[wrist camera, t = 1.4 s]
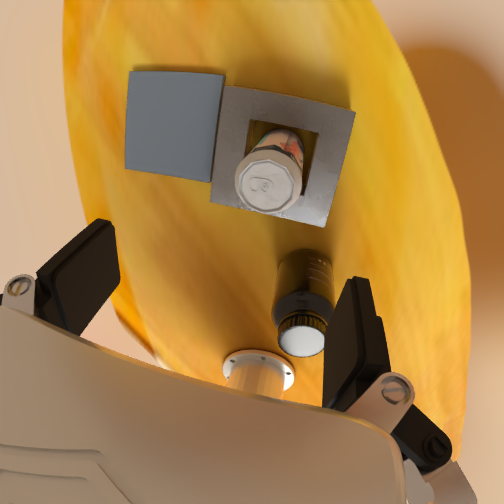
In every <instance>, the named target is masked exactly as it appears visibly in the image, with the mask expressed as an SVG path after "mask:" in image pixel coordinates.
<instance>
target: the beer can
mask: <svg viewBox="0 0 504 504" xmlns="http://www.w3.org/2000/svg"><path fill="white" fill-rule="evenodd" d="M303 156H304V146H303V143H302V141H301V140H300V138H299V137H298V136H297V135H296V134H295V133H293V132H292V131H289V130H287V129H274V130H271V131H269V132H267V133H266V134H265V135H264V136H263V137H262V138H261V140H260V141H259V142H258V144H257V145H256V146H255V147H254V148H253V150H252V151H251V152H250V153H249V154H248V156H246V157H245V158H244V159H243V160H242V161H241V162H240V164H239V166H238V167H237V170H236V173H235V188H236V191H237V193H238V195H239V197H240V198H241V200H242V201H243V202H244V203H245V204H246V205H247V206H248V207H250V208H252V209H253V210H255V211H258V212H260V213H263V214H264V213H267V214H274V213H278V212H282V211H284V210H286V209H288V208H289V207H291V206H292V205H293V204H294V203H295V202H296V200H297V199H298V197H299V195H300V192H301V188H302V168H303Z"/></svg>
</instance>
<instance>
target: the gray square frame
mask: <svg viewBox="0 0 504 504" xmlns="http://www.w3.org/2000/svg"><path fill="white" fill-rule="evenodd" d="M355 114H356V112H354V111H352V110H351V109H347V108H344V107H340V106H336V105H332V104H328V103H324V102H320V101H316V100H312V99H307V98H303V97H298V96H294V95H289V94H283V93H278V92H273V91H267V90H261V89H255V88H248V87H241V86H224V93H223V99H222V106H221V114H220V121H219V128H218V136H217V144H216V152H215V160H214V169H213V178H212V187H211V196H210V202H212V203H217V204H222V205H227V206H231V207H236V208H241V209H245V210H250V211H255V210H253V209H252V208H250V207H248V206H247V205H246V204H245V203H244V202H243V201H242V200H241V198H240V197H239V195H238V193H237V191H236V188H235V173H236V170H237V167H238V166H239V164H240V162H241V161H242V160H243V159H244V158H245V157H246V156H248V154H249V153H250V149H251V143H252V137H253V131H254V125H255V120H260V121H265V122H271V123H276V124H281V125H286V126H290V127H295V128H300V129H304V130H308V131H312V132H317V135H316V139H315V143H314V148H313V152H312V156H311V161H310V165H309V169H308V173H307V178H306V182H305V185H304V184H302V188H301V192H300V195H299V197H298V199H297V200H296V202H295V203H294V204H293V205H292V206H291V207H289V208H288V209H286V210H284V211H282V212H278V213H274V214H268V215H273V216H277V217H281V218H286V219H290V220H294V221H299V222H303V223H307V224H311V225H315V226H319V227H324V228H325V224H326V221H327V218H328V214H329V211H330V208H331V204H332V201H333V197H334V194H335V190H336V187H337V183H338V180H339V176H340V173H341V169H342V165H343V161H344V158H345V154H346V150H347V146H348V142H349V138H350V134H351V130H352V126H353V122H354V118H355ZM255 212H258V211H255ZM259 213H260V212H259ZM264 214H267V213H264Z"/></svg>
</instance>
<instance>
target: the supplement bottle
mask: <svg viewBox="0 0 504 504" xmlns="http://www.w3.org/2000/svg"><path fill="white" fill-rule="evenodd" d="M335 307H336V302H335V291H334V280H333V272H332V267H331V264H330V262H329V261H328V259H327V258H326V257H325V256H324V255H322V254H321V253H319V252H317V251H314V250H309V249H301V250H297V251H294V252H291V253H290V254H288V255H287V256H286V257H285V258H284V259H283V260H282V261H281V263H280V265H279V268H278V273H277V279H276V286H275V292H274V298H273V304H272V312H271V316H272V321H273V323H274V325H275V327H276V328H277V329H278V344H279V347H280V348H281V350H283V351H284V352H285V353H287V354H289V355H291V356H295V357H310V356H314V355H316V354H318V353H320V352H321V351H322V350H324V334H325V330H326V327H327V325H328V322H329V320H330V318H331V316H332V314H333V311H334V309H335Z"/></svg>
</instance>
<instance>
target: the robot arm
mask: <svg viewBox="0 0 504 504" xmlns="http://www.w3.org/2000/svg"><path fill="white" fill-rule="evenodd" d="M36 274H37V277H38V278H37V279H36V280H34V278H33V277H32V276H30V275H27V274H24V275H18V276H16V277H14V278H12V279H11V280H10V281H9V282H8V283H7V284H6V285H5V288H4V293H3V294H0V504H406V498H407V500H408V503H409V504H477V498H476V495H475V493H474V491H473V490H472V488H471V486H470V484H469V482H468V480H467V479H466V477H465V475H464V474H463V472H462V470H461V468H460V467H459V465H458V463H457V461H454V462H452V460H451V458H450V457H451V455H452V444H451V442H450V439H449V438H448V436H447V435H446V434H445V433H444V432H443V431H442V430H441V429H440V428H438V427H437V426H436V425H435V424H434V423H433V422H432V421H431V420H430V419H429V418H428V417H427V416H426V415H424V414H423V413H422V412H421V411H420V410H419V409H418V408H417V407H416V406H415V405H414V404H413V401H414V398H415V392H414V388H413V386H412V384H411V382H410V381H409V380H408V379H407V378H406V377H404V376H403V375H401V374H399V373H395V372H391V366H390V360H389V354H388V348H387V342H386V337H385V332H384V326H383V321H382V318H381V317H380V316H376V311H375V306H374V301H373V296H372V291H371V287H370V282H369V279H366V278H362V277H357V276H354V277H353V278H352V279H347V281H346V283H345V286H344V288H343V290H342V293H341V295H340V298H339V300H338V302H337V304H336V307H335V309H334V311H333V314H332V316H331V318H330V320H329V322H328V325H327V327H326V330H325V334H324V373H323V399H322V407H318V406H313V405H308V404H303V403H297V402H292V401H287V400H282V398H283V391H285V390H287V389H288V388H289V387H290V386H291V385H292V384H293V382H294V376H295V373H294V369H293V367H292V366H291V365H290V363H289V362H288V361H286V360H285V359H284V358H282V357H280V356H278V355H276V354H273V353H271V352H267V351H262V350H241V351H237V352H235V353H232V354H231V355H229V356H228V357H227V358H226V359H225V361H224V364H223V369H222V370H223V374H224V376H225V377H226V379H227V380H228V382H227V386H226V387H225V386H221V385H217V384H213V383H210V382H206V381H202V380H199V379H196V378H192V377H189V376H185V375H182V374H179V373H176V372H172V371H169V370H166V369H163V368H160V367H157V366H154V365H151V364H148V363H145V362H142V361H140V360H137V359H134V358H131V357H129V356H126V355H123V354H121V353H118V352H116V351H113V350H110V349H108V348H105V347H103V346H100V345H98V344H95V343H93V342H91V341H88V340H86V339H84V338H81V337H79V336H80V335H81V333H82V332H83V331H84V329H85V328H86V327H87V325H88V324H89V322H90V321H91V320H92V318H93V317H94V316H95V315H96V313H97V312H98V311H99V309H100V308H101V307H102V305H103V304H104V303H105V301H106V300H107V299H108V298H109V296H110V295H111V294H112V292H113V291H114V290H115V289H116V287H117V286H118V285H119V283H120V270H119V263H118V255H117V246H116V237H115V228H114V226H113V225H112V223H111V222H110V221H108V220H104V219H99V218H98V219H96V220H95V221H93V222H92V223H91V224H90V225H89V226H87V227H86V228H85V229H84V230H83V231H81V232H80V233H79V234H78V235H77V236H75V237H74V238H73V239H72V240H71V241H70V242H69V243H67V244H66V245H65V246H64V247H63V248H62V249H61V250H59V251H58V252H57V253H56V254H55V255H54V256H53V257H52V258H51V259H50V260H48V262H46V263H45V264H44V265H43V266H42V267H41V268H40V269H39V270H38V271H37V272H36Z"/></svg>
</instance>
